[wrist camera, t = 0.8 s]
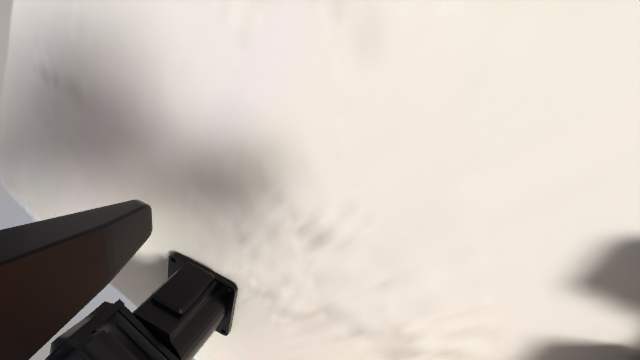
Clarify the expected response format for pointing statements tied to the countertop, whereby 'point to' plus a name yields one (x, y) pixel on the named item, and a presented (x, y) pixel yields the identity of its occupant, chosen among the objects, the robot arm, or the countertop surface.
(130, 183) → the countertop surface
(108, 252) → the robot arm
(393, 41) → the countertop surface
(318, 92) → the countertop surface
